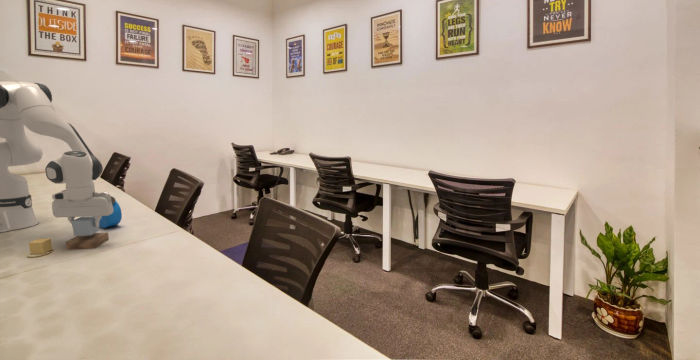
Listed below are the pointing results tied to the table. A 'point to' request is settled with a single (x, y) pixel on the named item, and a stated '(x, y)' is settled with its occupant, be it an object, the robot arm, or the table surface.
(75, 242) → the walnut base
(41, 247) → the mustard cube
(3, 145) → the robot arm
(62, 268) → the table surface
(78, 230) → the slate cube
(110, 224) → the alarm clock
